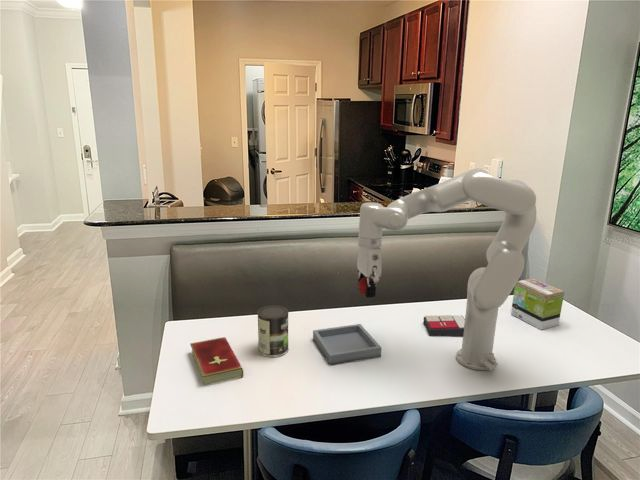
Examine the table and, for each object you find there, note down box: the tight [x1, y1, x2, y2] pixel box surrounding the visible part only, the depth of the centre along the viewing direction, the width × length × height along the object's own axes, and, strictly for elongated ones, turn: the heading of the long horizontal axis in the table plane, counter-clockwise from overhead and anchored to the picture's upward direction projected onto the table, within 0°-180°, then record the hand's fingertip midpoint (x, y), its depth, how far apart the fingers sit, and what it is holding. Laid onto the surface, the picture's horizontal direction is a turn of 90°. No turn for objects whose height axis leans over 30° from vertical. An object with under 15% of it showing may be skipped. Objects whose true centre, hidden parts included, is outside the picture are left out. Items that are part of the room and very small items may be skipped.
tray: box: [312, 323, 382, 366], centre depth 159 cm, size 18×18×4 cm
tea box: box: [510, 277, 565, 331], centre depth 181 cm, size 15×10×15 cm, turn 25°
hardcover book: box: [190, 336, 244, 386], centre depth 148 cm, size 12×21×4 cm, turn 25°
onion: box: [357, 276, 373, 297], centre depth 154 cm, size 6×6×8 cm
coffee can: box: [256, 305, 289, 358], centre depth 156 cm, size 10×10×14 cm
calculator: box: [423, 314, 465, 338], centre depth 174 cm, size 11×4×15 cm
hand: (366, 292), depth 155 cm, fingers closed on onion, 5 cm apart
